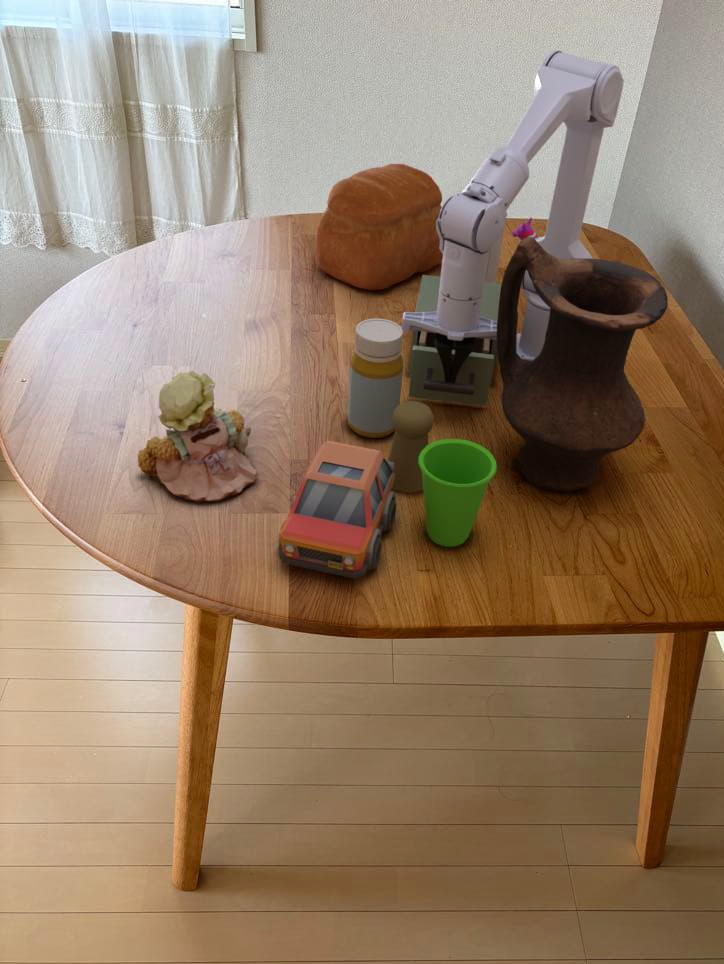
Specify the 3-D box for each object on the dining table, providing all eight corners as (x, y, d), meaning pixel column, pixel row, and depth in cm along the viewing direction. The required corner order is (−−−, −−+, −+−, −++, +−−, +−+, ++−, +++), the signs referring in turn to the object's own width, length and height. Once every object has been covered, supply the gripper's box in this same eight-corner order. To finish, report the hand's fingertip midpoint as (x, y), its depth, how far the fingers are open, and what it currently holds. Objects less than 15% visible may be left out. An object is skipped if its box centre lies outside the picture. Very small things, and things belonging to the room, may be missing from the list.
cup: (407, 509, 114) (415, 437, 107) (478, 510, 115) (490, 438, 108) (414, 558, 107) (422, 485, 100) (489, 558, 109) (503, 485, 101)
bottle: (404, 419, 129) (414, 325, 119) (386, 445, 124) (394, 348, 114) (359, 406, 131) (365, 312, 121) (339, 431, 126) (343, 334, 116)
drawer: (485, 424, 128) (492, 376, 123) (405, 414, 129) (409, 366, 124) (489, 359, 142) (496, 313, 137) (416, 350, 142) (421, 305, 137)
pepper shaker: (425, 496, 116) (433, 425, 109) (379, 488, 117) (384, 416, 110) (433, 469, 121) (442, 399, 114) (389, 461, 122) (395, 390, 114)
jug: (641, 452, 128) (703, 247, 108) (608, 527, 114) (672, 310, 95) (500, 410, 133) (534, 207, 113) (453, 477, 120) (483, 261, 100)
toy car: (269, 572, 104) (267, 504, 97) (313, 486, 116) (314, 420, 110) (367, 593, 102) (371, 526, 96) (401, 503, 115) (407, 438, 108)
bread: (454, 266, 168) (465, 174, 157) (377, 302, 156) (383, 204, 144) (384, 236, 176) (389, 146, 165) (305, 267, 163) (305, 172, 152)
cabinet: (491, 385, 138) (500, 328, 132) (408, 375, 138) (414, 318, 132) (493, 338, 149) (502, 283, 143) (417, 329, 149) (422, 274, 143)
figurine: (233, 429, 124) (229, 334, 114) (280, 487, 117) (280, 391, 106) (127, 461, 117) (112, 363, 107) (169, 525, 110) (158, 427, 99)
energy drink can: (501, 293, 162) (514, 210, 152) (477, 301, 158) (488, 217, 149) (478, 280, 165) (489, 197, 155) (454, 288, 162) (463, 204, 152)
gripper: (402, 298, 115) (395, 389, 124) (516, 311, 115) (500, 402, 124) (408, 274, 121) (400, 363, 130) (516, 286, 120) (501, 375, 129)
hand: (449, 381), depth 127 cm, fingers closed, pressing on drawer
